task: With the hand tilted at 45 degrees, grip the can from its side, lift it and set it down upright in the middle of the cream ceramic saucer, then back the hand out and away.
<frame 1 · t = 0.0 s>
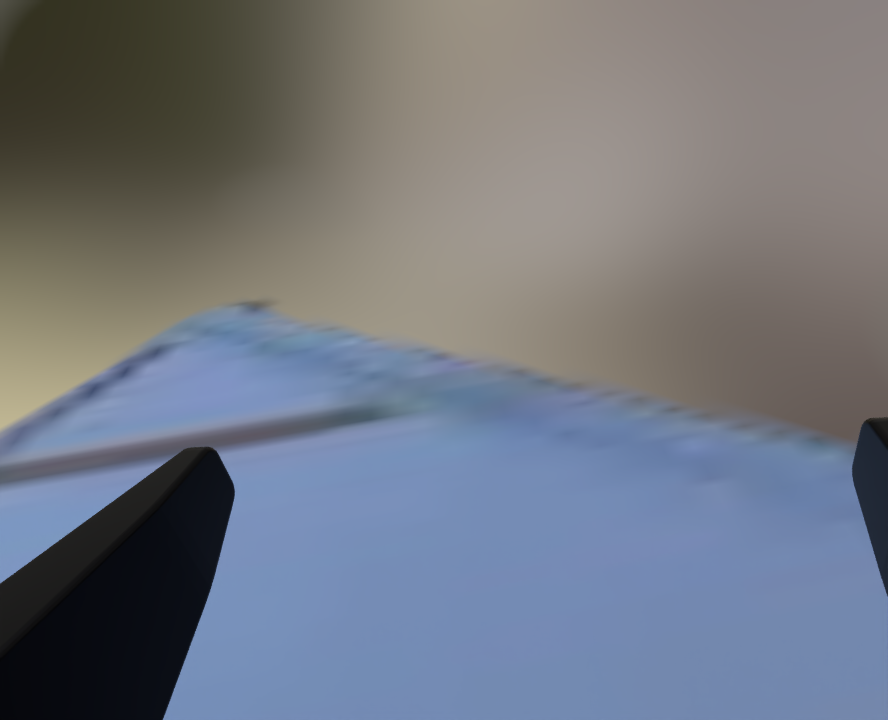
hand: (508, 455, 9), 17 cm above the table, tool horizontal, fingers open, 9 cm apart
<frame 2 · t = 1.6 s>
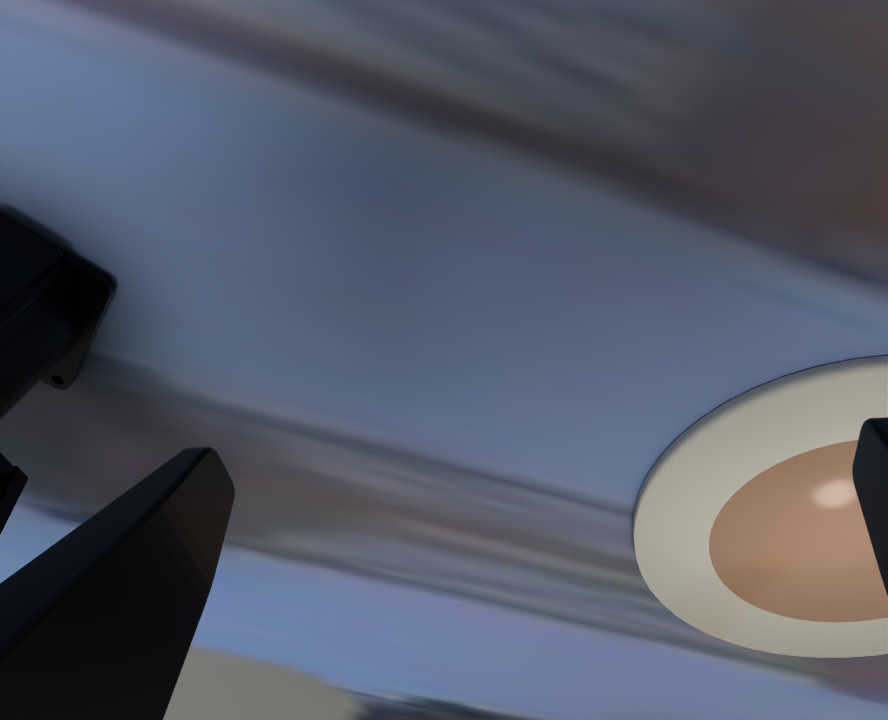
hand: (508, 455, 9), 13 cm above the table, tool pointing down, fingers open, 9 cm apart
saucer: (847, 523, 27), on the table
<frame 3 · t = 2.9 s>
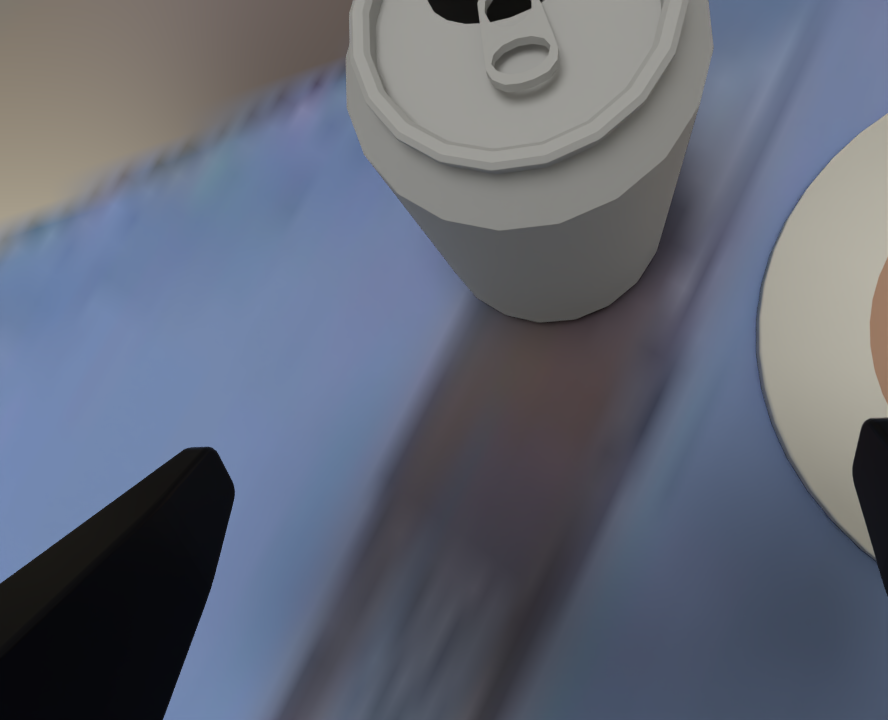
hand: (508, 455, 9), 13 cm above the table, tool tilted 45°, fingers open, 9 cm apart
can: (551, 225, 24), on the table
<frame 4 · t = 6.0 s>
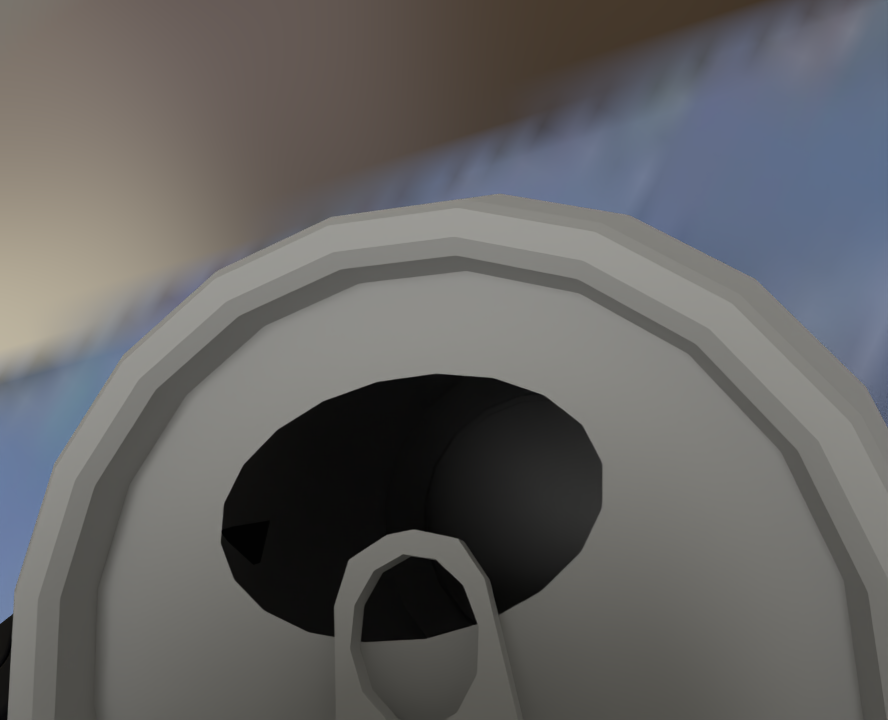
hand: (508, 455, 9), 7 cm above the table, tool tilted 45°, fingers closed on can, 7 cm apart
can: (550, 519, 16), on the table, touching gripper
when the fingers open (9 cm above the table, at t = 10.0 s): can drops 1 cm, resting on saucer.
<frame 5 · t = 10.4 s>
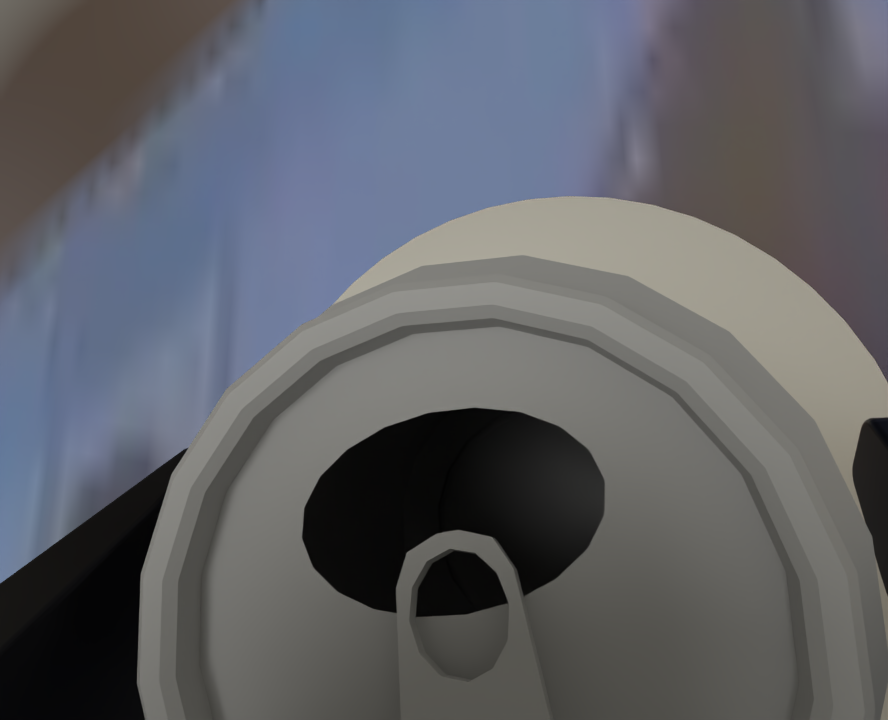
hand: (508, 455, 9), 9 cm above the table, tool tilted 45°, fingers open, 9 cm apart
can: (554, 520, 17), point 1 cm above the table, touching saucer
saucer: (555, 512, 18), on the table
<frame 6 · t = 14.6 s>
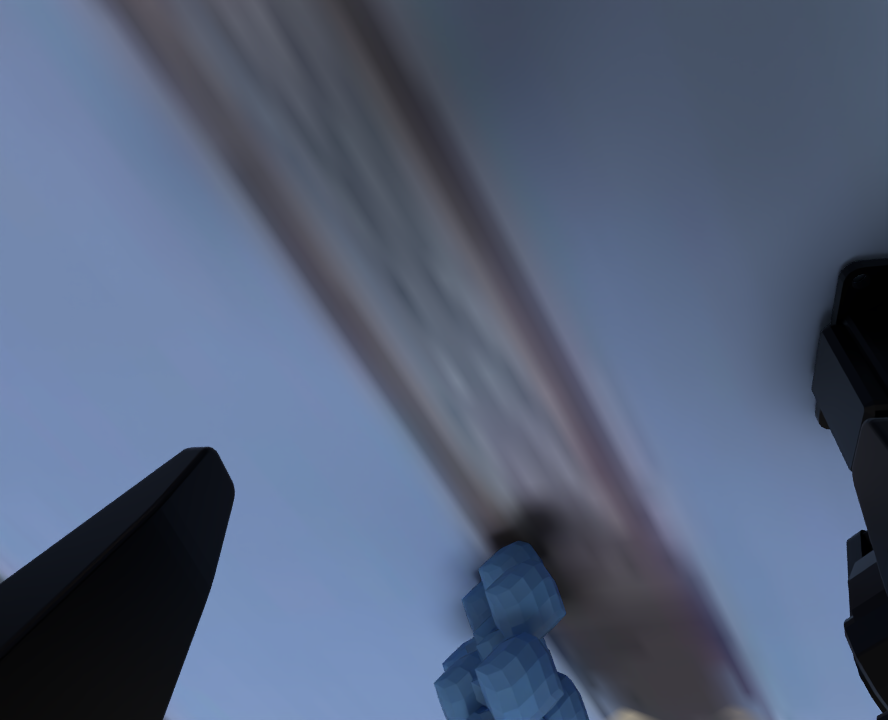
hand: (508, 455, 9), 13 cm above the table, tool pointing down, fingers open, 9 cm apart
grapes: (519, 578, 32), on the table
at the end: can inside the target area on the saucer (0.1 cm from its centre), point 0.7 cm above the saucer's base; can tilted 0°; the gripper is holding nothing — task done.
